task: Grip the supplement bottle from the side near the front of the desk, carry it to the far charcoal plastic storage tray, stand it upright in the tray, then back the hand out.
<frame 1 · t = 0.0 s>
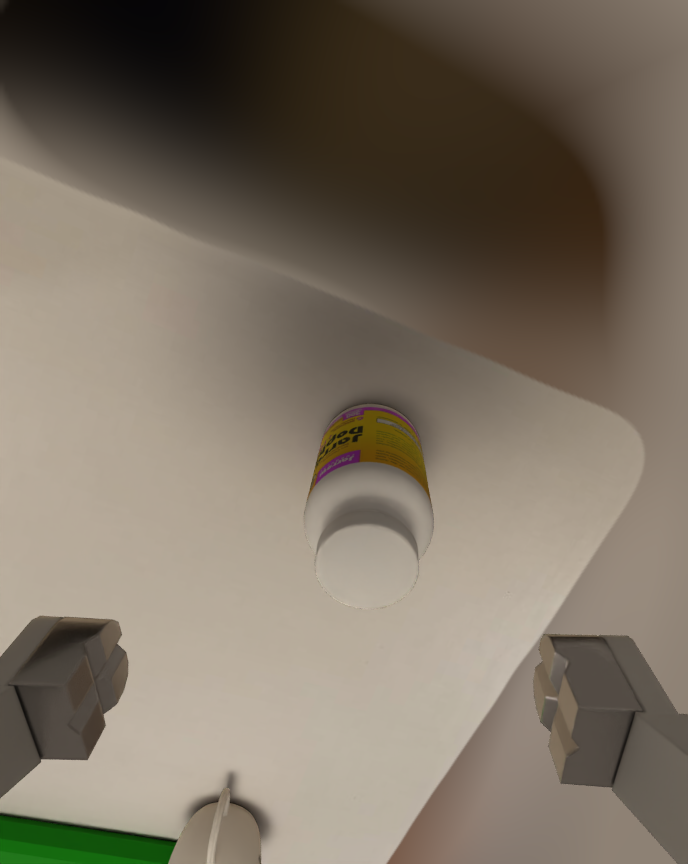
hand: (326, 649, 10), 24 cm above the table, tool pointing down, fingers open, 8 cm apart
supplement bottle: (370, 445, 35), on the table
mug: (228, 805, 51), on the table
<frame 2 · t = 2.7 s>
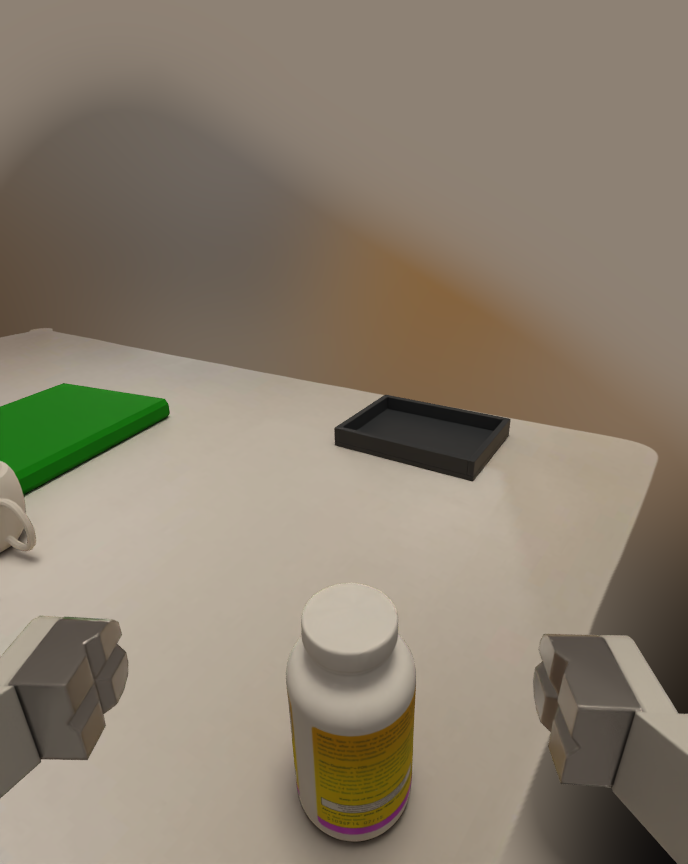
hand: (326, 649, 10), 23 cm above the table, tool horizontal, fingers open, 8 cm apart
book: (42, 444, 74), on the table
supplement bottle: (353, 783, 30), on the table
tray: (422, 440, 71), on the table
mug: (0, 549, 51), on the table
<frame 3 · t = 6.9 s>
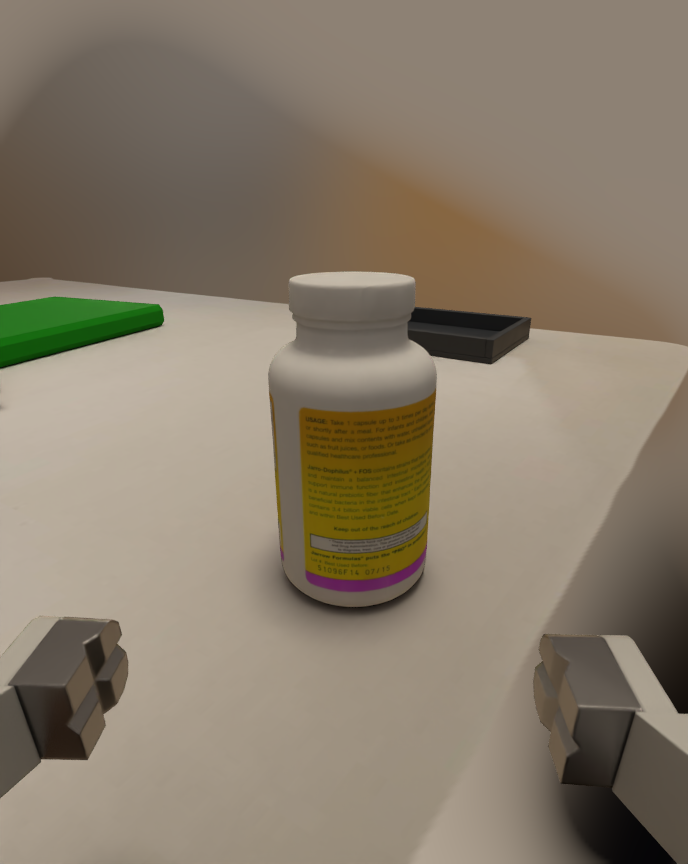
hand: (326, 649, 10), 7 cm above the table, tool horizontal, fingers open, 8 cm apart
book: (25, 340, 68), on the table
supplement bottle: (353, 567, 24), on the table
tray: (435, 340, 66), on the table
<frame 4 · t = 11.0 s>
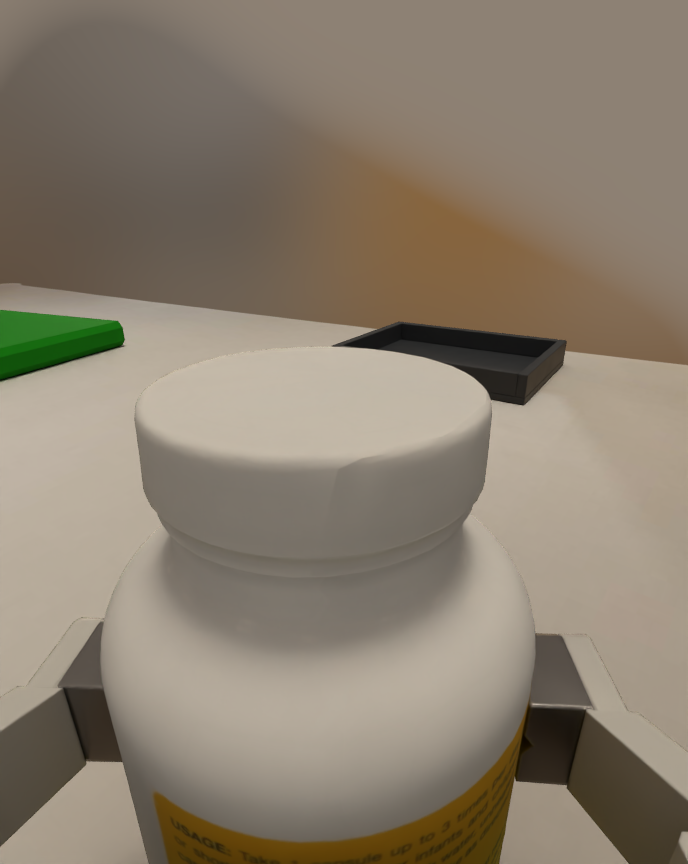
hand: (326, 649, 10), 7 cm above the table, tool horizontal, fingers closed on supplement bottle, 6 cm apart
tray: (448, 367, 54), on the table
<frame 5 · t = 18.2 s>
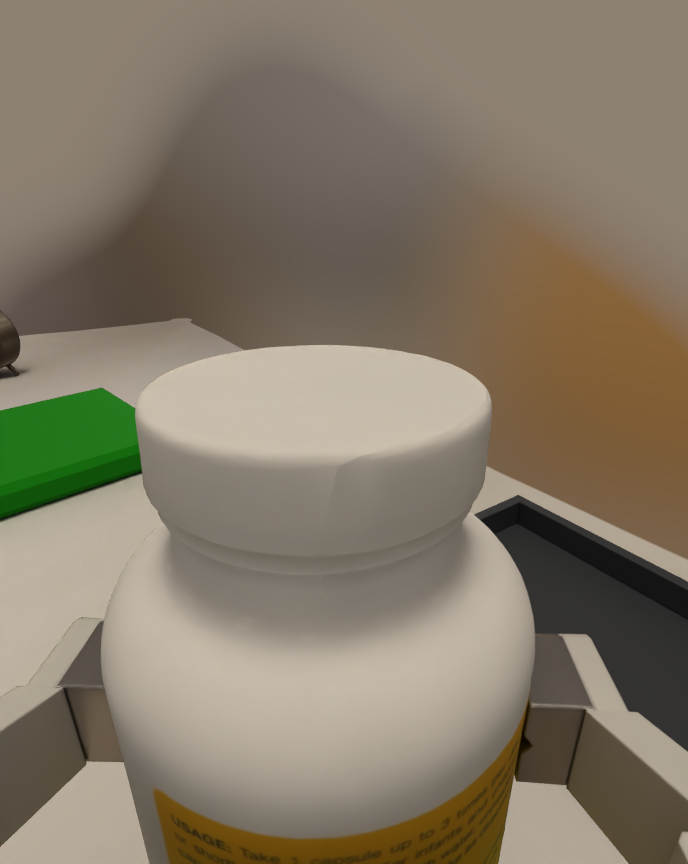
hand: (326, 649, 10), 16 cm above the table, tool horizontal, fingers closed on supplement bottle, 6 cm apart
book: (7, 471, 54), on the table
tray: (563, 634, 31), on the table
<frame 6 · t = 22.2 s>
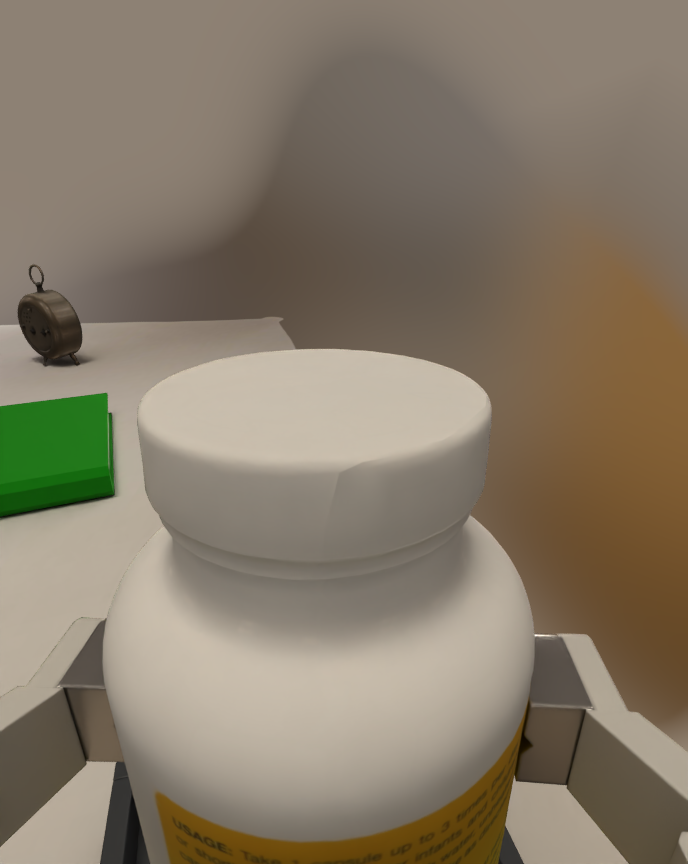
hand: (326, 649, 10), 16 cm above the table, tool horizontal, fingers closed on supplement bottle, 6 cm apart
alarm clock: (57, 364, 88), on the table
when the fingers open (8 cm above the table, at t = 25.9 s): supplement bottle stays where it is, resting on tray.
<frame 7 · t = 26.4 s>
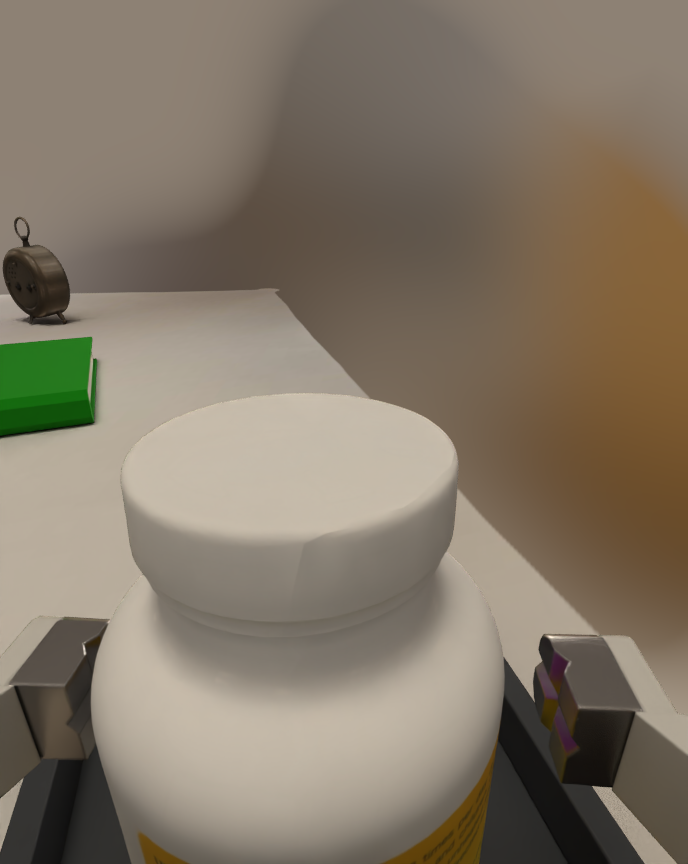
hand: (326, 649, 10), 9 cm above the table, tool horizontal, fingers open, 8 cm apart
alarm clock: (44, 323, 86), on the table
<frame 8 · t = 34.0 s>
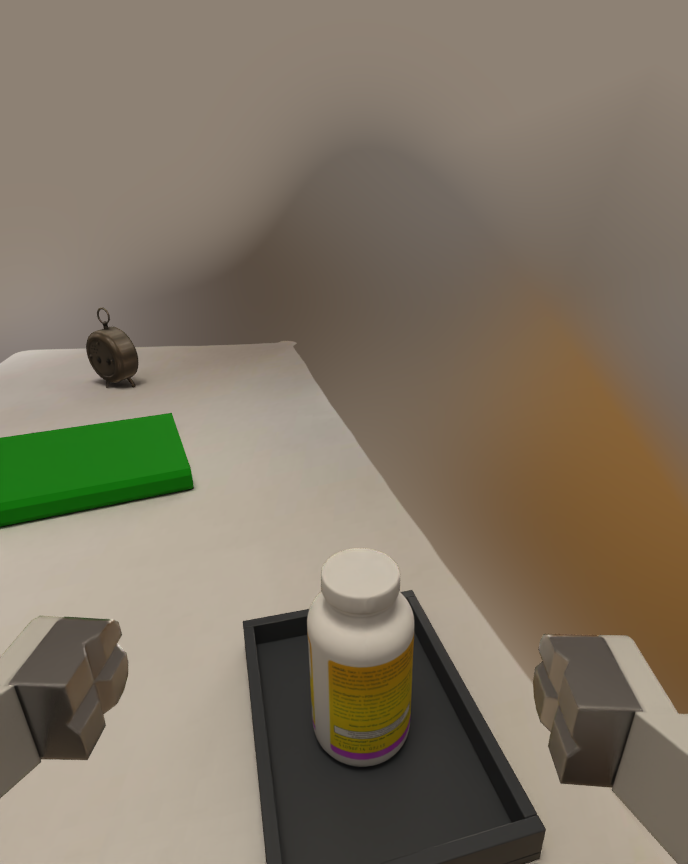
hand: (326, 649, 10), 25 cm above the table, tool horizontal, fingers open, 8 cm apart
book: (78, 476, 71), on the table
supplement bottle: (360, 725, 35), resting on tray
tray: (363, 730, 35), on the table
alarm clock: (116, 386, 109), on the table
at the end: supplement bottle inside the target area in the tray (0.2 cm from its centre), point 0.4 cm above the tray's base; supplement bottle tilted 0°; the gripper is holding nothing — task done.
